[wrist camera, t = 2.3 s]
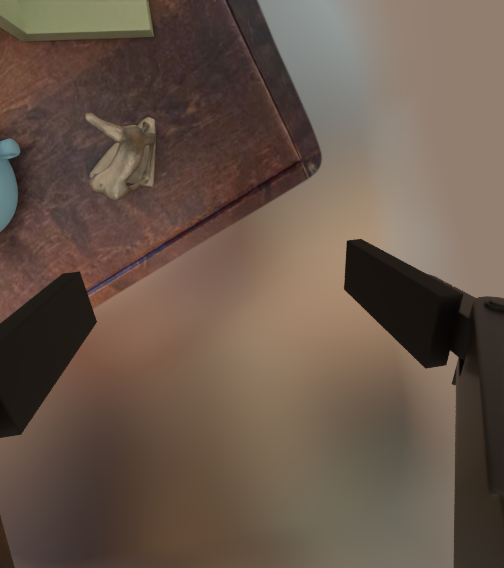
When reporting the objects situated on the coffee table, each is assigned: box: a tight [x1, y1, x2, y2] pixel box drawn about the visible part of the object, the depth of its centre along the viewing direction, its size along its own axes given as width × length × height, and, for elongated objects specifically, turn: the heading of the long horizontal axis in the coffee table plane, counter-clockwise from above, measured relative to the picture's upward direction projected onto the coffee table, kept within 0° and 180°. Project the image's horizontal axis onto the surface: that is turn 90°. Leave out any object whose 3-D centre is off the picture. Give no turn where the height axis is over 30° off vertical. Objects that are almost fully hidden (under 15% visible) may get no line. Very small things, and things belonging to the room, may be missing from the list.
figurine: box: [85, 113, 157, 200], centre depth 31 cm, size 11×6×15 cm, turn 125°
